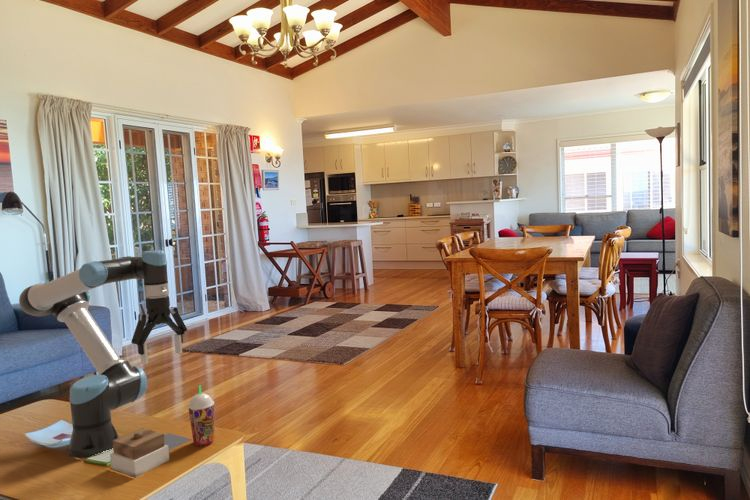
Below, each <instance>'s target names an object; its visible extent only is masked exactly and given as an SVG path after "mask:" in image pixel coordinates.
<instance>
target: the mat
mask: <svg viewBox="0 0 750 500" xmlns="http://www.w3.org/2000/svg"><path fill="white" fill-rule="evenodd" d="M191 440H192V441H193V438H190V437H186V436H182V435H178V434H174V433H170V432H168V433H166V434H164V444H165V445H168V448H169V451H171V450H174V449H175V448H177V447H179V446H181V445H183V444H185V443H187V442H189V441H191Z"/></svg>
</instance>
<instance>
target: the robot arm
mask: <svg viewBox="0 0 750 500" xmlns="http://www.w3.org/2000/svg"><path fill="white" fill-rule="evenodd" d="M167 265H168V261H167V257H166V252H165V251H164V250H162V249H161V250H160V249H157V250H155V249H154V250H145V251H143V252H141V256H128V255H127V256H122V257H118V258H114V259H113V258H112V259H107V260H100V261H95V260H94V261H91V262H87V263H84V264H82V265H81V267H80V268H79V269H77V270H73V271H72V272H70V273H67V274H65V275H62V276H60V277H57V278H55V279H53V280H50V281H48V282H44V283H41V282H40V283H36V284H33V285H30V286H28V287H26V288H25V289H24V290H22V291H21V293H20V295H19V297H18V298H19V299H18V303H19V307H20V309H21V310H22V311H23V312H24V313H26V314H27V315H30V316H33V317H45V316H51V315H54V317H55V318H56V320H57V321H58V322H60V323H65V325H66V326H67V328H68V330H69V331H70V332H71V334H72V336H73V337H74V338H75V340H76V342H77V343H78V345H79V346H80V348H81V349H82V351H83V352H84V353H85V355H86V356H87V358H88V359H89V361H90V363H91V364H92V366H93V368H94V369H95V370H96V372H97V374H94V375H91V376H86V377H82V378H81V379H79V380H77V381H75V382H74V383H73V384H72V385H70V388H69V399H68V400H69V404H70V412H71V424H72V432H71V436H70V438H69V439H70V440H69V444H68V454H69V456H70V457H73V458H87V457H88V458H89V457H93V456H92V455H94V456H96V455H95V454H98V453H101V452H103V451H106V450H109V449H111V450H113V449H112V448H113V440H115V439H118V438H120V437H119V435H118V433H117V430H116V428H115V426H114V424H113V422H112V413H111V411H113V410H117V409H118V408H121V407H123V406H126V405H128V404H130V403H134V402H135V401H136V400H138V399H140V398H142V397H143V396H144V395H145V393H146V391H147V388H148V379H147V378H148V377H147V374H146V373H145V371H144V370H143V368H141V367H140V366H135V365H134V366H132V365H131V364H130V362H129V360H127V359H121V357H120V355H119V354H118V352H117V351H116V349H115V348H114V347H113V345H112V343H111V342H110V340H109V339H108V337H107V336H106V334H105V333H104V331H103V330H102V329H101V327H100V325H98V323H97V322H96V320H95V319H94V317H93V315H92V314H91V312H90V311H89V310H88V309H89V308H90V303H89V302H90V295H89V293H90V290H92V289H95V288H98V287H100V286H103V285H106V284H112V283H117V282H118V283H119V282H123V281H128V280H142V279H143V284H144V285H143V286H144V287H143V289H144V296H145V297H146V298H145V309H146V311H147V312H146V313H139V314H138V315H137V316H138V317H137V322H136V323H137V324H136V326H135V327H136V328H135V330H134V333H133V335H132V338H131V342H130V343H131V344H133V345H137V353H138V355H140V364H141V365H142V364H143V365H148V364H149V358H148V357H149V356H148V346H147V343H146V342H147V339H148V337H149V336H150V335H151V332H152V331H153V329H154V327H156V326H158V325H161V324H167V326H168V327H170V329H171V330H172V331H173V332H174V335H173V339H174V348H175V349H174V351H175V354H180V355H181V354H183V345H182V344H183V343H184V340H183V339H184V338H183V335H185V332H187V331H188V328H187V326H186V324H185V322H184V321H183V319H182V317H181V316H180V313H179V309H178V307H176V306H171V307H170V305H171V303H170V302H171V301H170V296H169V294H170V290H169V280H168V279H169V278H168V268H167ZM170 315H171V317H172V318H171V317H170ZM174 321H175V322H174ZM109 451H110V450H109ZM98 455H99V454H98Z"/></svg>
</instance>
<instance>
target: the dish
mask: <svg viewBox="0 0 750 500" xmlns="http://www.w3.org/2000/svg"><path fill="white" fill-rule="evenodd" d="M169 451H170V450H169V448H168V445H165V446H164V447H162V448H160V449H158V450H155V451H153V452H151V453H149V454H147V455H145V456H143V457H141V458H139V459H136V460H133V459H130V458H127V457H124V456H121V455H118V454H115V453H114V452H111V453H109V457H110V459H109V460H110V469H111V470H112V471H115V472H119V473H121V474H124V475H126V476H129V477H131V478H135V479H136V478H137V477H138V476H140V475H142V474H144V473H146V472H148V471H150V470H153V469H154V468H156V467H158V466H161V465H162V464H164V463H166V462H168V461H170V452H169Z"/></svg>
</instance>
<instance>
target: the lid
mask: <svg viewBox="0 0 750 500" xmlns="http://www.w3.org/2000/svg"><path fill="white" fill-rule="evenodd" d="M164 435H165V434H164V433H163V432H162V433H161V432H158V431H155V430H152V429H151V430H150V429H147V428H144V427H142V428H140V429H139V428H138V429H137V430H134V431H132V432H128V433H127V434H125V435H123V436H120V437H119V438H118V439H115V440H113V449H112V451H113V452H114V453H115V454H118V455H121V456H124V457H127V458H130V459H133V460H136V459H139V458H141V457H143V456H145V455H147V454H149V453H151V452H153V451H155V450H158V449H160V448H162V447H164V446H165V444H164ZM113 452H112V453H113Z"/></svg>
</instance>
